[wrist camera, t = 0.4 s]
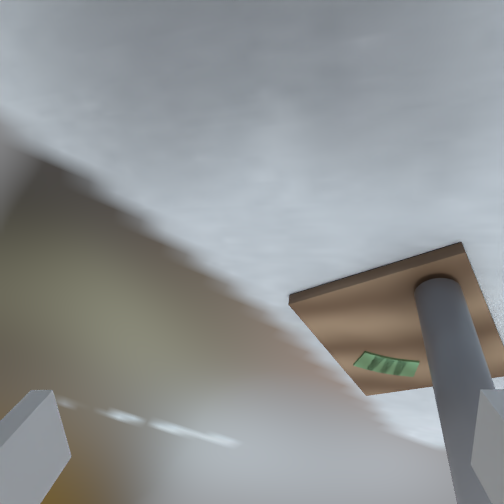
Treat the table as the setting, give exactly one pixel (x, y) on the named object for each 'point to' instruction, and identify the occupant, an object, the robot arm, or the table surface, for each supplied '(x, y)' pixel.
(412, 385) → the board
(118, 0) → the table surface
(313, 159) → the table surface
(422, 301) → the white panel stand
